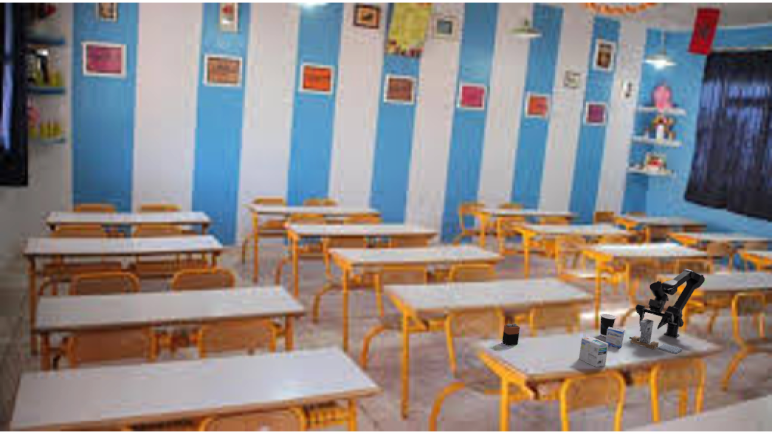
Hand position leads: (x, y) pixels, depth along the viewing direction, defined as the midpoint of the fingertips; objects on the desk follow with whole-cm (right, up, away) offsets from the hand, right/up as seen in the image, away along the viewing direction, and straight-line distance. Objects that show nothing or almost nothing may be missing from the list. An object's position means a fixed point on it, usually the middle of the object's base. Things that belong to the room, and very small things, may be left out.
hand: (648, 326), depth 339 cm
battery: (-75, -6, -17) cm, 77 cm away
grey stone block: (-4, -10, -2) cm, 10 cm away
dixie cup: (-20, -7, +8) cm, 22 cm away
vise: (-3, -9, 0) cm, 10 cm away
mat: (+9, -11, -5) cm, 15 cm away
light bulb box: (-40, -12, -32) cm, 53 cm away
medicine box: (-20, -9, -6) cm, 23 cm away
